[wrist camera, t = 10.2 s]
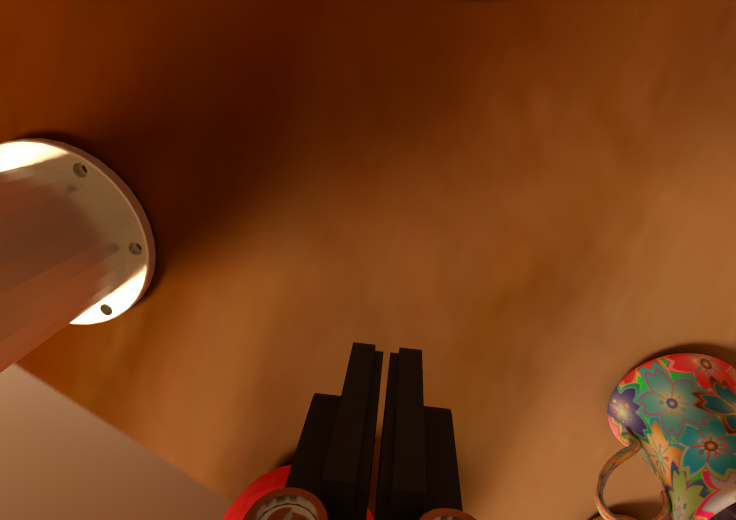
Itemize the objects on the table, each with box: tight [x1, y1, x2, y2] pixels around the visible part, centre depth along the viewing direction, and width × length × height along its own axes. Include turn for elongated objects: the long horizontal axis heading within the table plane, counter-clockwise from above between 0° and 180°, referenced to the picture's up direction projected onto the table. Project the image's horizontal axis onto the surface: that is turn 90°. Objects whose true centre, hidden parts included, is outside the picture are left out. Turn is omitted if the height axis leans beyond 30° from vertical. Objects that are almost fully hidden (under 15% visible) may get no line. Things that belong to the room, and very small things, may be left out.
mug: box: [595, 353, 736, 520], centre depth 25 cm, size 12×9×11 cm
